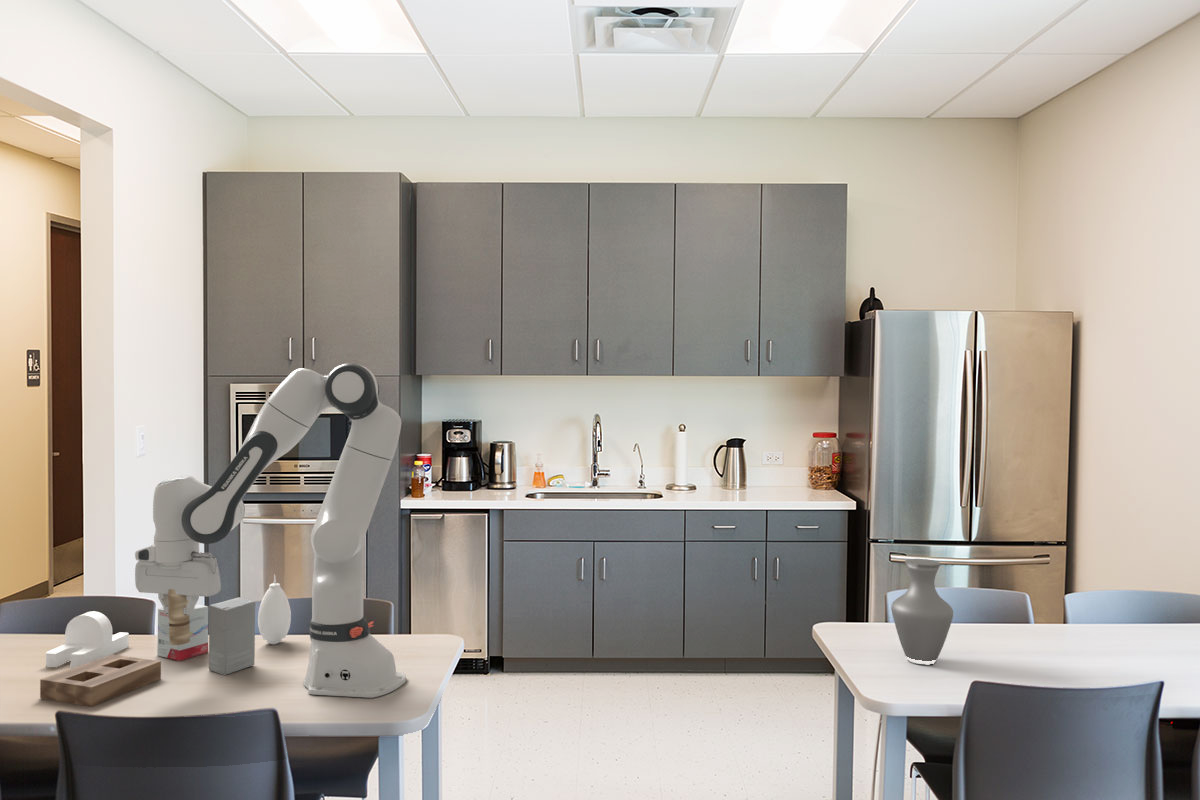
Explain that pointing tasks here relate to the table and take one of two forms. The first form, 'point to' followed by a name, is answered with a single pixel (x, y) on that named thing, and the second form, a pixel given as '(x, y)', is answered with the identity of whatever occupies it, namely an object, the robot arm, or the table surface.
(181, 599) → the dowel
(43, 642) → the table surface
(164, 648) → the ink box
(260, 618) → the white bulb air blower
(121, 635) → the white slotted holder
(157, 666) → the board
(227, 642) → the skincare box
